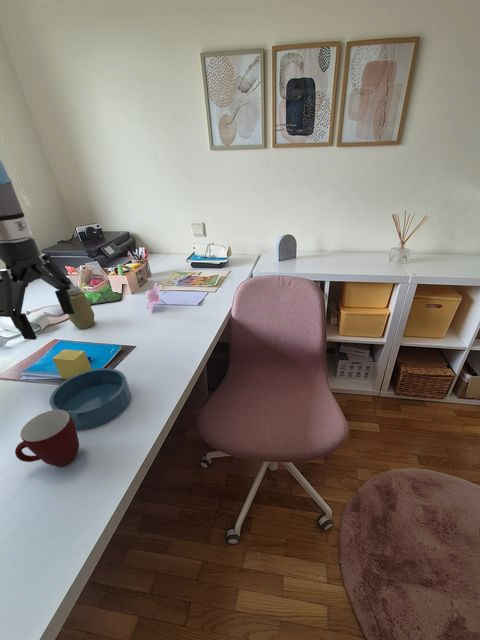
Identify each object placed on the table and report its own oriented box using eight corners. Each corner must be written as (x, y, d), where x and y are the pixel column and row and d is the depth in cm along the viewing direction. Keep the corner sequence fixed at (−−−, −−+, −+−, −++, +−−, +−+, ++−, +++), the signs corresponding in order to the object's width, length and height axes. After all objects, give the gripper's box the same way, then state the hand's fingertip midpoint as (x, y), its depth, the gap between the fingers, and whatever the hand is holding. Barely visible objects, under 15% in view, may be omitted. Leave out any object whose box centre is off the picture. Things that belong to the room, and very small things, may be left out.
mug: (28, 491, 56) (2, 456, 50) (28, 460, 61) (4, 426, 56) (90, 463, 61) (72, 428, 55) (85, 437, 66) (68, 403, 61)
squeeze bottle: (94, 318, 115) (77, 272, 105) (100, 325, 110) (83, 278, 100) (71, 325, 111) (51, 277, 101) (76, 333, 106) (56, 284, 96)
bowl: (41, 426, 69) (31, 410, 66) (86, 380, 83) (79, 366, 80) (107, 433, 67) (100, 417, 64) (142, 385, 81) (138, 370, 78)
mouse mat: (121, 300, 128) (121, 298, 128) (64, 309, 122) (63, 306, 122) (123, 280, 150) (123, 278, 149) (74, 286, 144) (74, 284, 143)
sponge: (62, 378, 84) (51, 358, 80) (72, 369, 88) (63, 349, 84) (82, 380, 83) (73, 360, 79) (93, 371, 87) (84, 350, 83)
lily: (150, 303, 128) (135, 288, 121) (174, 291, 127) (160, 275, 119) (151, 322, 121) (136, 308, 114) (177, 310, 120) (162, 294, 112)
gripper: (-26, 256, 55) (26, 352, 66) (67, 227, 75) (94, 305, 87) (-61, 254, 56) (-4, 350, 67) (40, 227, 76) (70, 304, 88)
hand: (51, 325), depth 77 cm, fingers open, 13 cm apart
